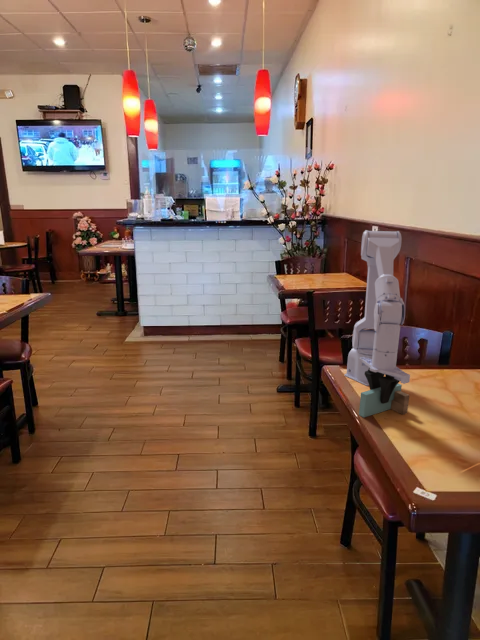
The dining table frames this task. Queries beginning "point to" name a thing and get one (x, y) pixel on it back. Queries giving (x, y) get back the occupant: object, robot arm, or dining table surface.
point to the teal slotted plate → (375, 401)
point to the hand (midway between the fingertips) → (379, 400)
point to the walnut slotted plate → (400, 402)
